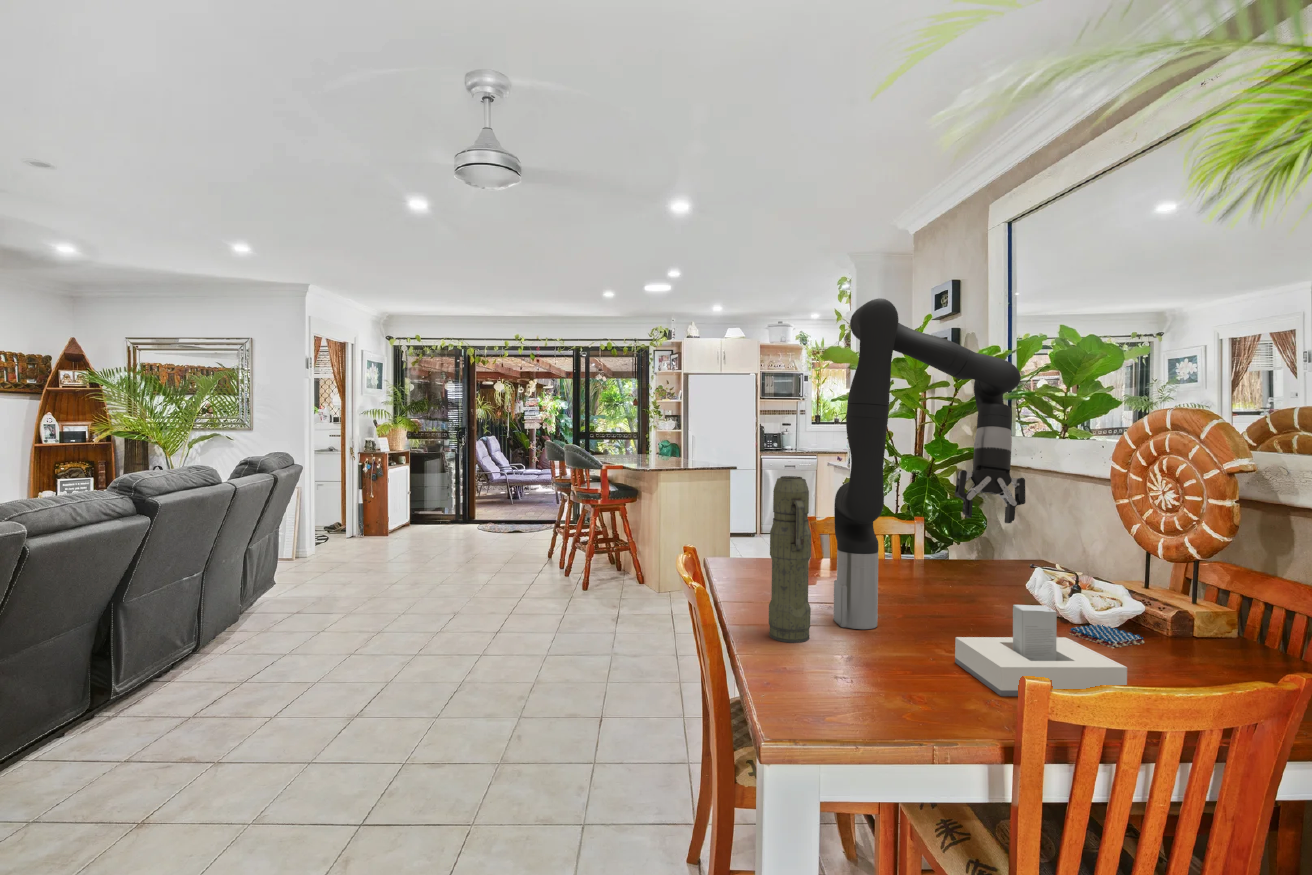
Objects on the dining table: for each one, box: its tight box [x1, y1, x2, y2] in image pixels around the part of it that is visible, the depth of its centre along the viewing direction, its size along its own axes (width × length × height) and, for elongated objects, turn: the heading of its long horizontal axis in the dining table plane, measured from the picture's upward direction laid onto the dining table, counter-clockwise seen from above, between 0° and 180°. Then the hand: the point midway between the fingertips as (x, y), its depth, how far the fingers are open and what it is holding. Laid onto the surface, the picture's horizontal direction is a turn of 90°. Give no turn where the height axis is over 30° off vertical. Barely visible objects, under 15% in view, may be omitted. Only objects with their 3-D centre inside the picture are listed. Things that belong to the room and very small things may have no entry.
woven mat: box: [1068, 623, 1145, 649], centre depth 143 cm, size 10×11×2 cm
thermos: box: [768, 475, 812, 644], centre depth 142 cm, size 9×12×35 cm
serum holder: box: [954, 636, 1128, 697], centre depth 119 cm, size 22×16×5 cm
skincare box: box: [1012, 604, 1058, 661], centre depth 119 cm, size 6×4×12 cm
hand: (988, 520), depth 144 cm, fingers open, 8 cm apart
